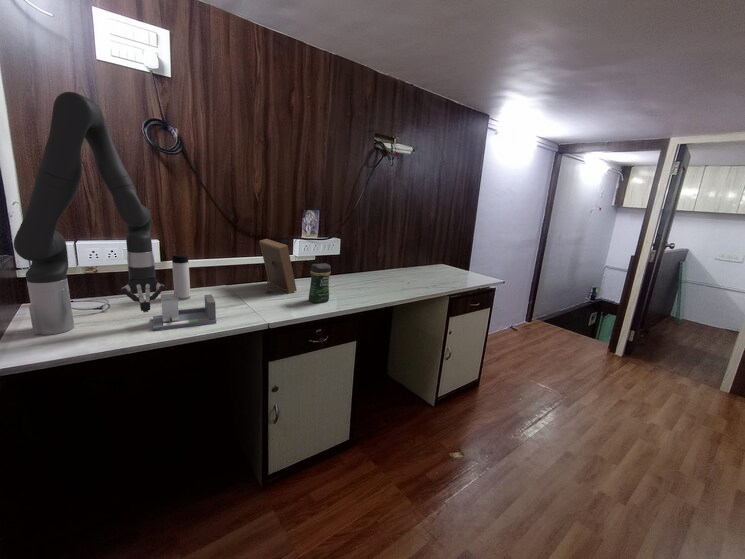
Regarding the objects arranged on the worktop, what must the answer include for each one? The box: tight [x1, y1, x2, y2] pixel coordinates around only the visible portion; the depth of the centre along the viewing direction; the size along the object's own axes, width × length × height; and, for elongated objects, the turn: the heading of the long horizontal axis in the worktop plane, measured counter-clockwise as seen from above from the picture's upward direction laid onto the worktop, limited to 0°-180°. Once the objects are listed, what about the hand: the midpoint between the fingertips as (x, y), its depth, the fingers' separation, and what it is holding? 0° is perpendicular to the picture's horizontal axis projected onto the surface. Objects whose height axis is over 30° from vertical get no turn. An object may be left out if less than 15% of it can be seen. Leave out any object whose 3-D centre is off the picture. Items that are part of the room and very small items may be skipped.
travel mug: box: [171, 254, 191, 301], centre depth 145 cm, size 6×7×20 cm
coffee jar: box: [308, 262, 332, 304], centre depth 159 cm, size 10×8×19 cm
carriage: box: [160, 293, 179, 323], centre depth 120 cm, size 5×9×9 cm, turn 33°
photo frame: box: [258, 238, 297, 294], centre depth 170 cm, size 15×22×25 cm
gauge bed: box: [152, 294, 217, 332], centre depth 123 cm, size 20×12×8 cm, turn 123°
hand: (145, 311), depth 117 cm, fingers closed
